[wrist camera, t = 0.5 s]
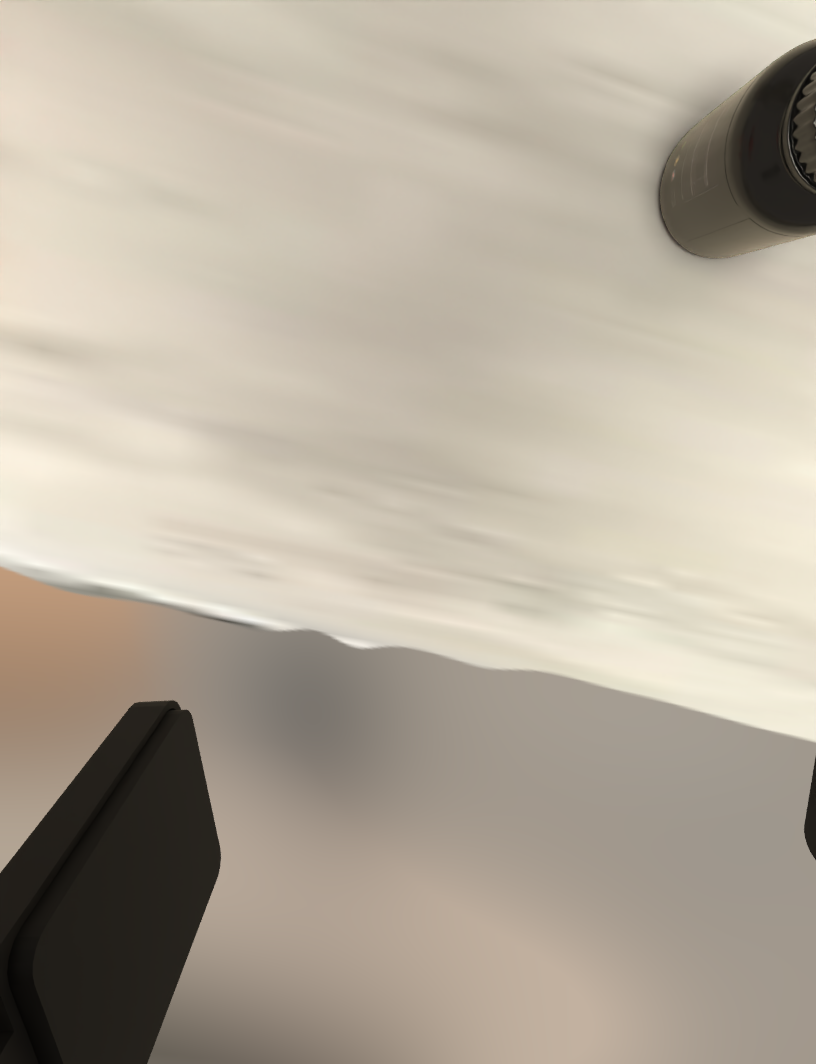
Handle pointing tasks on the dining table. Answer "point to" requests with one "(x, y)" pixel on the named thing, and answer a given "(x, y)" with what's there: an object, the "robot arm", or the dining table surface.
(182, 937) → the robot arm
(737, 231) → the supplement bottle
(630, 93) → the dining table surface
